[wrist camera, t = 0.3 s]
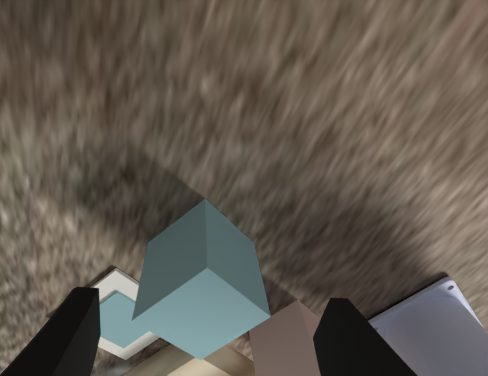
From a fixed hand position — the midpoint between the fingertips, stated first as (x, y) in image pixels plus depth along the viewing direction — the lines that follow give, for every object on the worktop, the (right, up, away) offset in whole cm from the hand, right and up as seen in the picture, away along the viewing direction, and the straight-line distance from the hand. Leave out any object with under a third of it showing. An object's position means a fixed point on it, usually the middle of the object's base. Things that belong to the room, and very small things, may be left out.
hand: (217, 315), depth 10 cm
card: (-8, -6, +14) cm, 17 cm away
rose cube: (+5, -8, +17) cm, 20 cm away
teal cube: (-2, 0, +11) cm, 12 cm away
